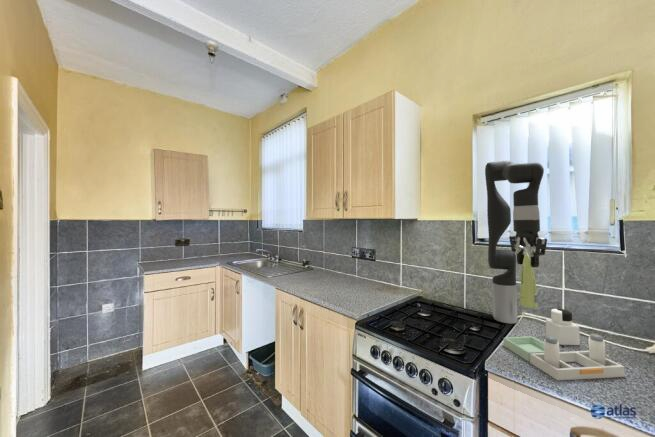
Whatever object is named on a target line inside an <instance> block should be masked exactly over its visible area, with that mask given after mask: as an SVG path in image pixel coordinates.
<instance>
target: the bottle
mask: <svg viewBox="0 0 655 437" xmlns="http://www.w3.org/2000/svg"><path fill="white" fill-rule="evenodd" d="M543 342H544V360H545V361H546V362H547V363H549V364H551V365H552V366H554V367H556V368H557V369H558V368H560V357H559V351H560V345H559V343H558V342H557V338H555V337H552V336H546V335H545V337H544V339H543Z"/></svg>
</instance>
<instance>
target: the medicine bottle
mask: <svg viewBox="0 0 655 437" xmlns="http://www.w3.org/2000/svg"><path fill="white" fill-rule="evenodd" d="M550 315H551V316H550V317H551V318H548V319H547V318H546V319H545V336H552V337H555V338H557V342H558V343H559V346H581V337H580V336H581V334H580V326H578V325H576V324H575V323H573V313H572V312H571V311H569V310H568V309H563V308H552V309H551V310H550Z"/></svg>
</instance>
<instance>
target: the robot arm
mask: <svg viewBox="0 0 655 437" xmlns="http://www.w3.org/2000/svg"><path fill="white" fill-rule="evenodd" d="M484 168H485V169H484V175H485V176H484V177H485V185H486V195H487V196H486V198H487V199H486V200H487V202H486V203H487V204H486V206H487V210H486V211H487V214H486V215H487V229H488V232H487V233H488V247H487V248H488V251H487V257H488V258H487V259H488V266H489V268H490V269H493V270H506V271H505V272H504V273H500V274H498V275H494V276H493V277H492V297H491V303H492V304H491V307H492V309H491V311H492V318H493V319H494V320H496V321H497V322H501V323H505V324H510V325H511V324H517V323H518V298H517V275H516V274H517V269H516V268H517V264H518V265H523V260H524V256H525V252H526V251H528V252H529V254H530V260H531V267H533V268H539V266H540V257H541V256H546V251H547V250H546V248H547V243H548V239H547V238H546V237H545V238H544V237H543V238H542V237H540V235H539V232H540V231H541V218H540V217H541V216H540V215H541V214H540V209H539V190H540V186H541V183H542V179H543V176H544V171H545V169H544V166H543V165H542V164H541V163H539V162H536V161H535V162H525V163H519V162H518V163H517V162H515V163H514V162H513V161H511V160H500V161H499V160H498V161H490V162H487V163H486V165H485V167H484ZM503 181H508V183H510V184H528V186H527V187H526V188H522V189H519V190H518V189H517V190H516V191H513V210H512V213H511V207H510V205H509V203H508V202H507V201H506V200H505V199H504V197H503V196H502V195H501V194H500V193H499V190H498V188H497V187H496V182H503ZM511 215H512V216H511ZM512 217H513V218H512ZM511 221H512V222H513V225H512V226H513V227H512V228H513V232H515V235H509V237H508V238H509V244H510V248H511V249H497V245H498V243H499V241H500V239H501V237H502V236H503V234H504V233H505V232H506V230H507V229H508V228H509V226H510V225H511Z"/></svg>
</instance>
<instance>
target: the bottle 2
mask: <svg viewBox="0 0 655 437" xmlns="http://www.w3.org/2000/svg"><path fill="white" fill-rule="evenodd" d="M588 351H589V358H590V359H592V360H594V361H596V362H598V363H600V364H602V365H604V366H606V358H607V357H606V341H605V340H604V337H603V336H602V335H599V334H596V333H590V334H589V337H588Z"/></svg>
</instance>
